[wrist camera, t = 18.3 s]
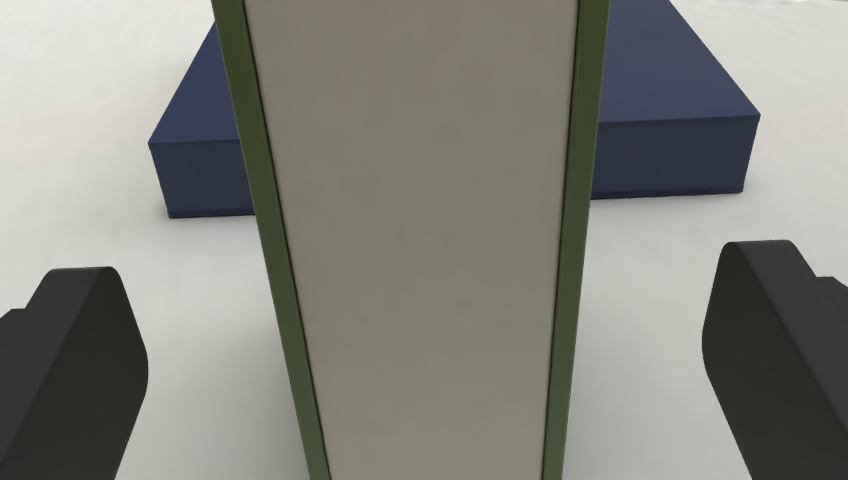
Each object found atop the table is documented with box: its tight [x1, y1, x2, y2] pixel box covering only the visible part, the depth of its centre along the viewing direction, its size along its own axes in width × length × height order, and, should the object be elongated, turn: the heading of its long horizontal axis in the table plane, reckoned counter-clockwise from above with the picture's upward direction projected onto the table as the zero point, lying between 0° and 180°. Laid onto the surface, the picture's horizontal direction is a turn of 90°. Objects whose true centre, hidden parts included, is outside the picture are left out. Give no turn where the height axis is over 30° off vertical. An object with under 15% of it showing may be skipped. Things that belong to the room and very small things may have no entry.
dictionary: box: [211, 0, 611, 480], centre depth 16 cm, size 5×7×12 cm
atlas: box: [148, 0, 761, 218], centre depth 32 cm, size 20×15×3 cm
